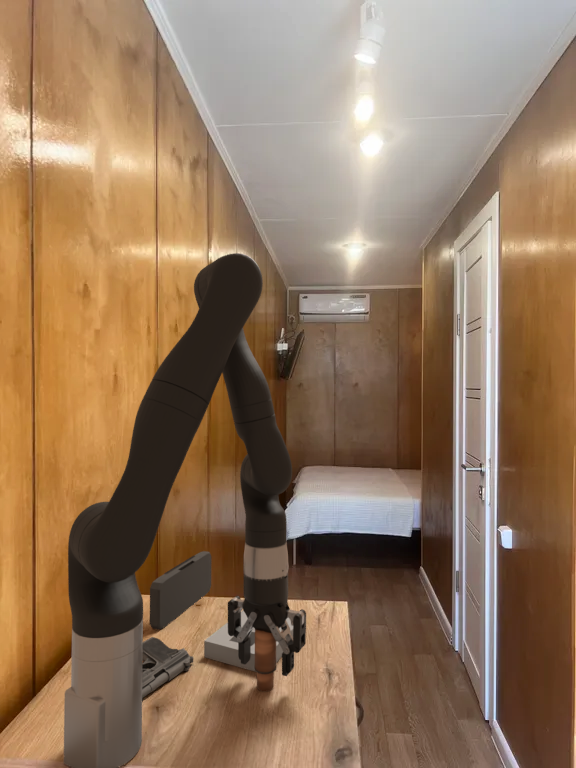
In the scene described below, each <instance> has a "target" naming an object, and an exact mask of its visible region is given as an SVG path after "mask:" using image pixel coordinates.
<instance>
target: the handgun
mask: <svg viewBox="0 0 576 768" xmlns="http://www.w3.org/2000/svg"><path fill="white" fill-rule="evenodd" d="M192 663H194V656H192V655H190V654H189V651H187V650H186V649H185V648H180V649H178V648H171V647H169V646H168V645H166V643H164V642H163V641H162V640H161V639H159V638H157V637H154V636H151V637H149V638H148V639H146V640H144V641H143V656H142V699H143V698H145V697H147V696H148V695H149V694H151V693H153V692H155V690H156V689H158V688H159V687H161V686H162V685H163V684H165V683H166V682H167V683H168V682H170V681H171V680H173V679H174V678H175V677H177V676H178V675H179V674H181V673H182V672H187V671H189V670H190V666H191V664H192Z"/></svg>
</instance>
